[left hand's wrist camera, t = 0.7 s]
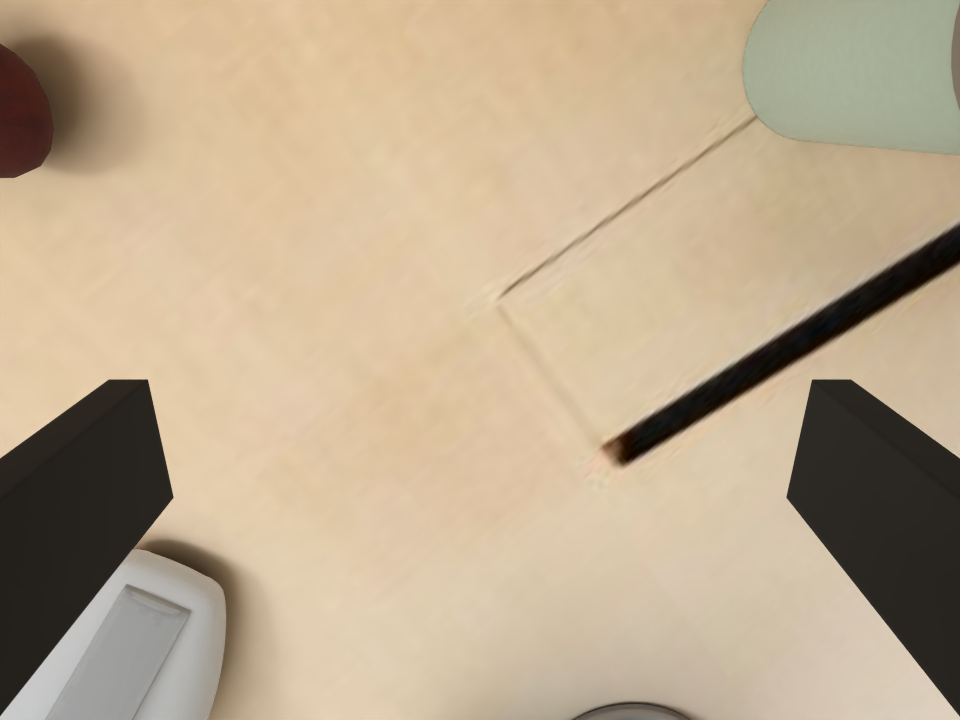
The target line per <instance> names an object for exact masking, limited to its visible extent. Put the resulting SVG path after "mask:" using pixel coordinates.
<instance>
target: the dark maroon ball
mask: <svg viewBox="0 0 960 720" xmlns="http://www.w3.org/2000/svg"><path fill="white" fill-rule="evenodd" d="M53 130H54V129H53V124H52V118H51V113H50V108H49V103H48V99H47V97H46V95H45V93H44V91H43V89H42V87H41V85H40V83H39V81H38V79H37V77H36V75H35V73H34V72H33V71H32V70H31V69H30V68H29V67H28V66H27V65H26V64H25V63H24V62H23V61H22V60H21V59H20V58H19V57H18V56H17V55H16V54H15V53H13V52H12V51H10V50H9V49H7V48H6V47H4V46H3V45H1V44H0V178H15V177H17V176H20V175H22V174H24V173H27V172H29V171H31V170H33V169H35V168H38V167H40V166H41V165H42V163H43V161H44V160H45V158H46V157H47V155H48V154H49V152H50V150H51V144H52V137H53Z"/></svg>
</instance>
